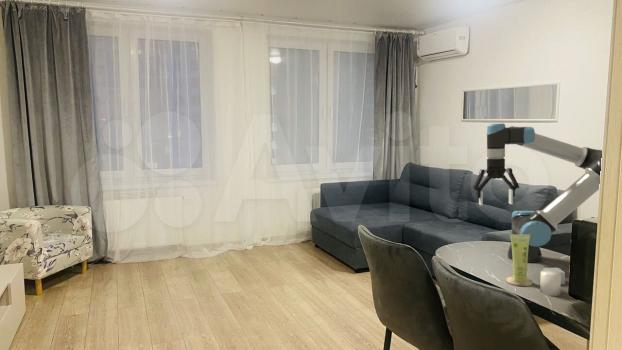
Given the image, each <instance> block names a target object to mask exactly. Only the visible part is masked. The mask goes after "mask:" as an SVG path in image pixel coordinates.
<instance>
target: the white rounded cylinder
mask: <svg viewBox="0 0 622 350" xmlns="http://www.w3.org/2000/svg"><path fill="white" fill-rule="evenodd" d="M539 279H540V280H539V281H540V282H539V283H540V285H539V289H540V290H539V292H540V293H541V295H543V296H544V295H545V296H547V297H549V296H550V297H559V296H561V292H562V291H561V289H562V287H561V286H562V284H561V273H560V272H558V271H554V270H543V269H542V270H540V277H539ZM558 295H559V296H558Z"/></svg>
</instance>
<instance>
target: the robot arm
mask: <svg viewBox="0 0 622 350" xmlns="http://www.w3.org/2000/svg"><path fill="white" fill-rule="evenodd" d="M486 129H487V130H486V157H487V159H486V169H484V168H483V169H482V168H480V169H479V173H478V176H477V177H476V180H475V182H474V184H473V186H472V189H473V190H474V191H476V198H478V205H479V206H484V205H483V204H484V202H483V201H484V198H483V197H484V192H483V189H484V187H486V185H487V184H488V182H490V180H495V179H498V180H499V179H501V180H503V182H504V183H505V184H506V185H507V186H508V187H509V188H508V204H510V205H513V204H514V197H515V196H516V190H517V189H519V188H520V184H519V183H518V181H517V179H516V177H515V175H514V173H513V169H512V168H511V167H507V168H505V167H506V159H505V157H506V145H517V146H520V147H523V148H528V149H529V150H533V151H536V152H539V153H542V154H544V155H548V156H550V157H551V156H552V157H554V158H558V159H560V160H563V161H567V162H570V163H573V164H574V165H575V167H578V168H581V169H583V170H585V172H584V174H582V175H581V176H580V177H579V178H578V179H577V180H576V181H574V182H573V183H572V184H571V185H570V186H569V187H567V188H566V189H565V190H564V191H562V192H561V193H560V194H559V195H558V196H557V197H556V198H555V199H553V200H552V201H551V202H550V203H549V204H547V206H544V208H543V209H541V210H537V209H536V210H514V211H513V212H512V213H511V234H522V235H530V240H529V248H528V259H527V263H538V262H540V261H542V259H543V254H542V250H541V248H540V247H542V246H545V245H546V244H547V243H549V242H550V240H551V238H552V235H553V233H555V232H556V231H557V230H558V224H560V223H561V222H563V220H564V219H566V218H567V217H569V215H570V214H571V213H573V212H574V211H575V210H577V208H579V207H580V206H581V205H582V204H584V203H585V202H586V201H587V200H588V199H589V198H590V197H592V196H593V195H594V194H595V193H597V192H598V191H599V190H600V189H599V184H600V171H601V158H602V149H596V148H590V147H587V146H583V147H580V146H578V145H577V146H576V145H573V144H570V143H567V142H564V141H561V140H558V139H555V138H552V137H549V136H545V135H543V134H539V133H536V131H535V129H534V127H533V126H515V125H514V126H513V125H512V126H509V127H506V124H505V123H501V122H500V123H489V124H488V125H487V127H486ZM505 173H506V174H507V175H508V176H509V179H510V180H509V179H508V177H506V175H505ZM485 174H487V175H485ZM484 176H485V178H484V179H483V177H484ZM507 258H508V259H510V260H512V261H513V256H512V245H511V243H510V244H509V247H508V249H507Z"/></svg>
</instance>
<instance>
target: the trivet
mask: <svg viewBox="0 0 622 350" xmlns="http://www.w3.org/2000/svg"><path fill="white" fill-rule="evenodd" d="M505 283H507V284H509V285H512V286H515V287H530V286H533V280H532V279H530V278H528V277H527V280H526V281H525V282H518V281H515V280H514V278H513V275H511V276H508V277H505Z"/></svg>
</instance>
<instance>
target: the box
mask: <svg viewBox="0 0 622 350" xmlns="http://www.w3.org/2000/svg"><path fill="white" fill-rule="evenodd" d="M542 270H554V271H558V272H560V273H561V285H566V284H565V283H566V282H565V279H566V272H565V271H563V270H562V269H561V268H560V267H543V268H542Z"/></svg>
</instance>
